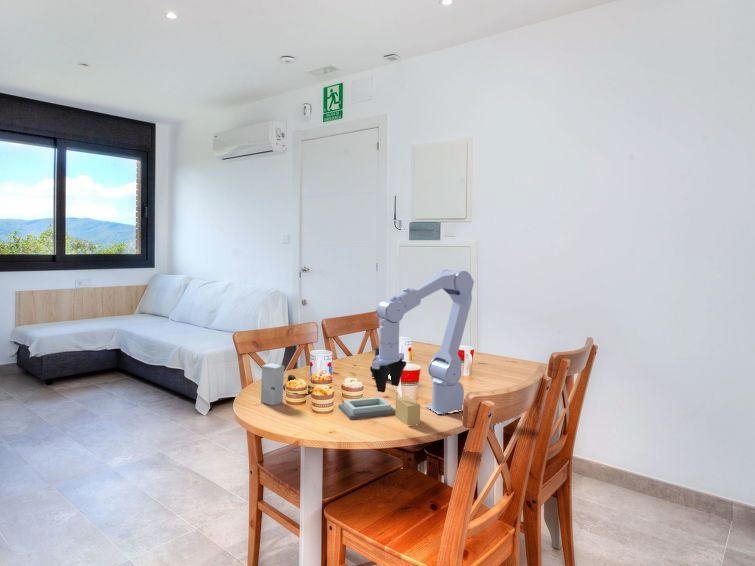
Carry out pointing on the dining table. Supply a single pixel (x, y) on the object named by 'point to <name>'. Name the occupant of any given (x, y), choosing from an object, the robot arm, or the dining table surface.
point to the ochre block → (407, 411)
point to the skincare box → (272, 384)
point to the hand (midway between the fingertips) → (388, 388)
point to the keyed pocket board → (366, 408)
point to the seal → (292, 377)
